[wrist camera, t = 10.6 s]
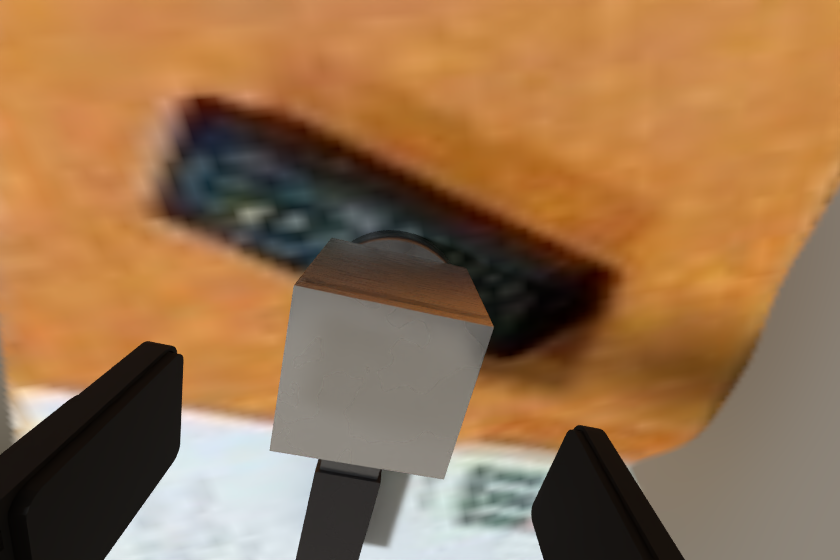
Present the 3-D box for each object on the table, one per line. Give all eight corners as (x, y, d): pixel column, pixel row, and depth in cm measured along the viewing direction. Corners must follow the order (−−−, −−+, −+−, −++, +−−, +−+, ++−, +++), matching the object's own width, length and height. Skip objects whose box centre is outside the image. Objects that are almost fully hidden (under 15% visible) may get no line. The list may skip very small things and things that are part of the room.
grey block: (331, 237, 17) (294, 285, 11) (466, 267, 18) (493, 327, 12) (311, 358, 19) (269, 450, 13) (433, 381, 20) (443, 479, 14)
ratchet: (384, 544, 26) (378, 649, 21) (276, 526, 25) (241, 631, 20) (476, 249, 20) (502, 289, 14) (336, 214, 19) (308, 243, 14)
